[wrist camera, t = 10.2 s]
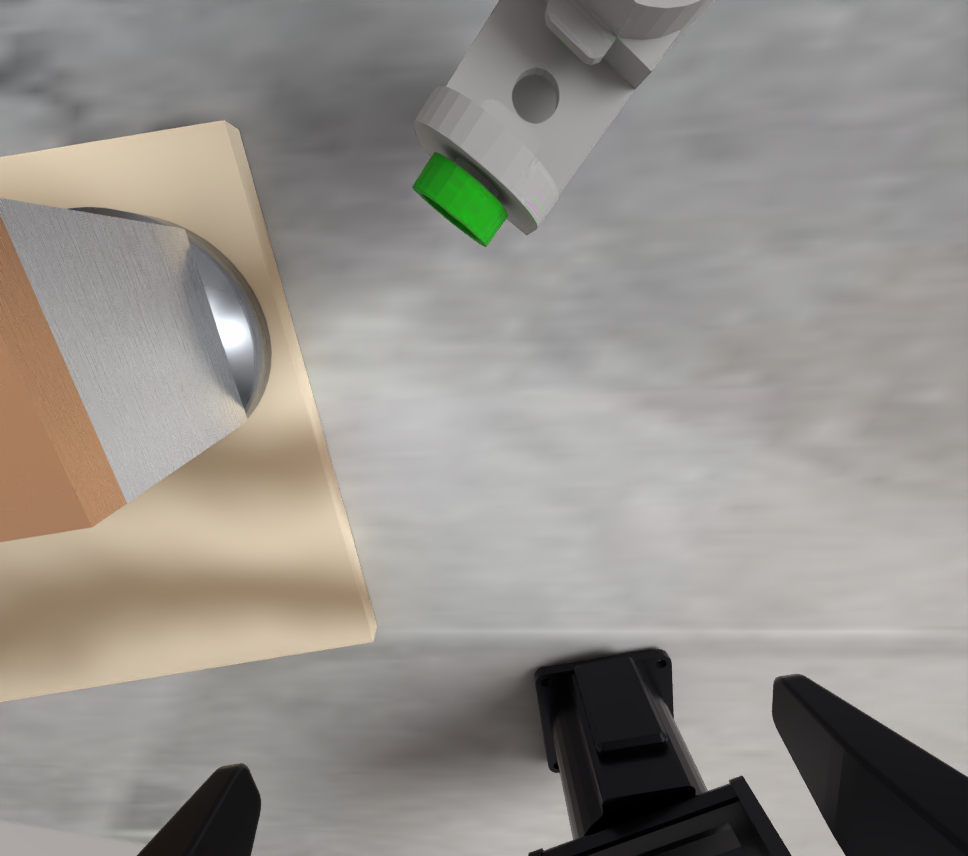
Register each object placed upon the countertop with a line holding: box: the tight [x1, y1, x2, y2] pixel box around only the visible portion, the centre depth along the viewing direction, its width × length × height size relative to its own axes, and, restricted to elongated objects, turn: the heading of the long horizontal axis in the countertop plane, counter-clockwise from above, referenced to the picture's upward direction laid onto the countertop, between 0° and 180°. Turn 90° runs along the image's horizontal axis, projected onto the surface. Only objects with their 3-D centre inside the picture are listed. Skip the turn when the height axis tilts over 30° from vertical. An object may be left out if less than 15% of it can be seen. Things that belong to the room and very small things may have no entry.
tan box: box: [0, 198, 248, 542], centre depth 11 cm, size 6×6×7 cm
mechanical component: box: [413, 0, 715, 247], centre depth 11 cm, size 3×10×10 cm, turn 143°
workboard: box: [0, 120, 377, 702], centre depth 18 cm, size 20×17×1 cm
